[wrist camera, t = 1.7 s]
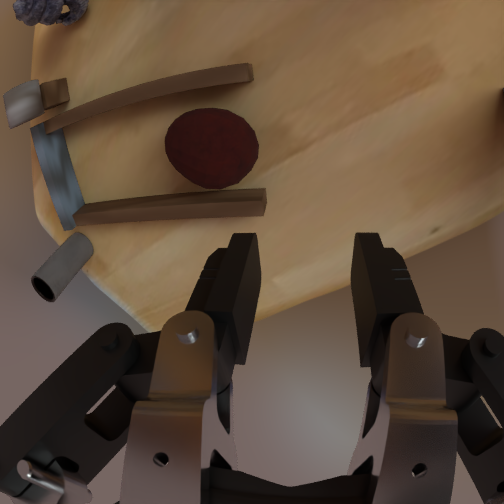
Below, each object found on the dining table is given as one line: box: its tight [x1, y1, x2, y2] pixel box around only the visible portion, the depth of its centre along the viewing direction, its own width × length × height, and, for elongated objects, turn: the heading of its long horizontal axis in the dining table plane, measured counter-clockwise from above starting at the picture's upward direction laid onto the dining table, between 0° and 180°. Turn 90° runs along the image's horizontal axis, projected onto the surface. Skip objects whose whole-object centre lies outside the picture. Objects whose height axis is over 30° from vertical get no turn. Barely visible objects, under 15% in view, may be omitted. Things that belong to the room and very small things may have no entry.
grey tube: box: [31, 233, 93, 302], centre depth 34 cm, size 4×4×10 cm
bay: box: [3, 63, 267, 231], centre depth 23 cm, size 19×26×8 cm
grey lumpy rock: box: [13, 0, 89, 26], centre depth 14 cm, size 5×5×10 cm
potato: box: [165, 108, 259, 189], centre depth 24 cm, size 7×8×7 cm
